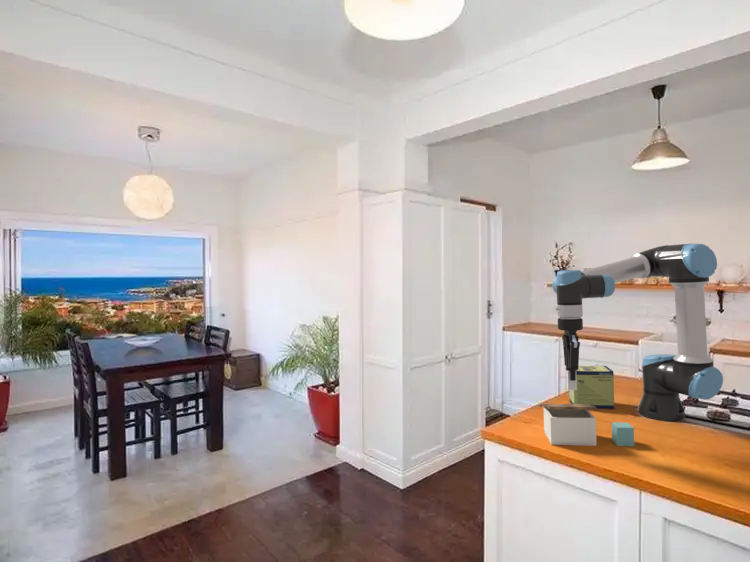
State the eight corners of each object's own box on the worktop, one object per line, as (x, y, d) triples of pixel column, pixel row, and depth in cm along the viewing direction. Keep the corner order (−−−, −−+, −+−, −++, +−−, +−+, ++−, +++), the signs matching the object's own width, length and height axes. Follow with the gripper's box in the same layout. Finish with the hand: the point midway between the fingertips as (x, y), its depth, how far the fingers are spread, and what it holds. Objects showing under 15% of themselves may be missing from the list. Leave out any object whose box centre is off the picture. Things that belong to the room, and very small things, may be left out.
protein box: (615, 409, 184) (614, 370, 184) (574, 408, 188) (572, 370, 187) (607, 401, 195) (606, 365, 194) (568, 401, 198) (567, 365, 197)
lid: (585, 406, 160) (585, 404, 160) (596, 409, 148) (596, 407, 148) (542, 406, 163) (542, 403, 163) (549, 409, 150) (549, 406, 150)
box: (590, 432, 161) (589, 404, 160) (601, 445, 148) (600, 415, 148) (539, 431, 164) (538, 403, 163) (546, 444, 151) (545, 415, 151)
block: (628, 440, 152) (627, 422, 152) (634, 446, 147) (633, 427, 147) (612, 440, 153) (611, 422, 153) (617, 445, 148) (617, 427, 148)
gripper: (553, 315, 156) (555, 384, 156) (562, 320, 143) (564, 394, 144) (576, 315, 155) (578, 384, 155) (588, 319, 142) (590, 395, 142)
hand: (572, 389), depth 149 cm, fingers closed
